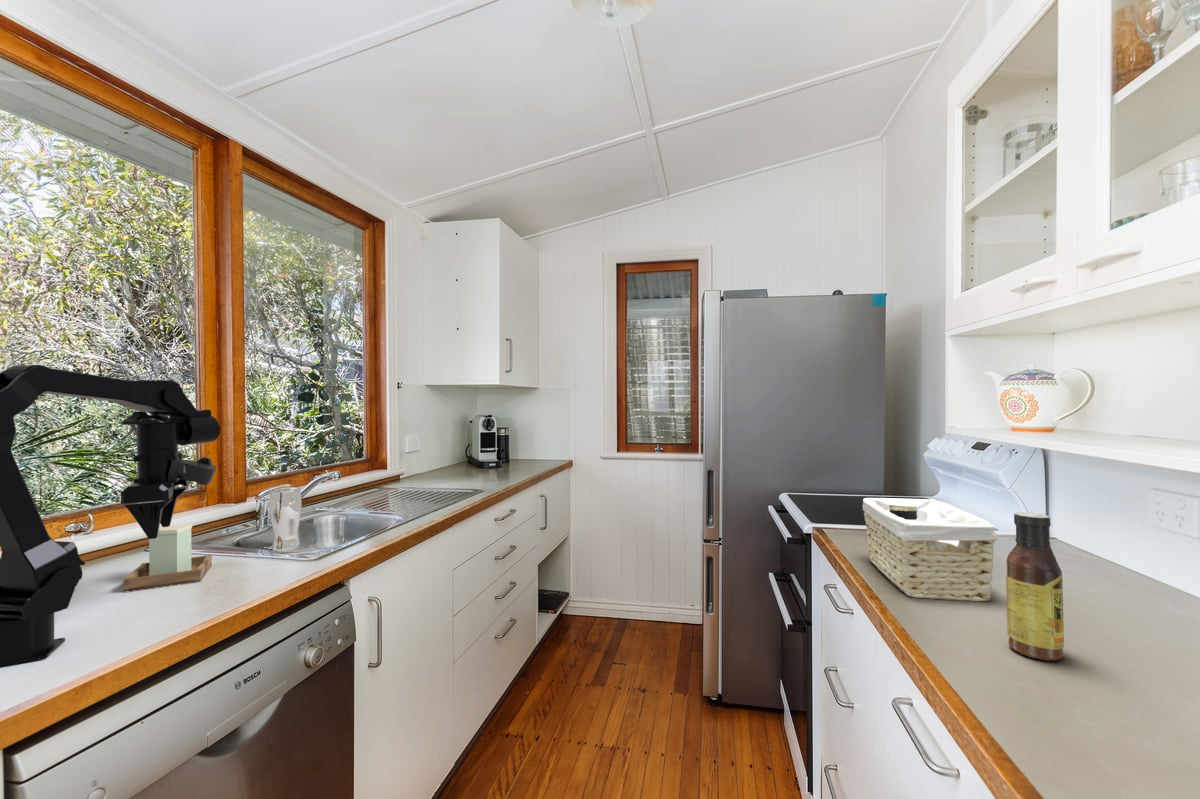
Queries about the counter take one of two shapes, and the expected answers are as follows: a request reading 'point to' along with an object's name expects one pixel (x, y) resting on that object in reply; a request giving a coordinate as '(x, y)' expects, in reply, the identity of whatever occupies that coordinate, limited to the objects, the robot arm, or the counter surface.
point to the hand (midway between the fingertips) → (159, 532)
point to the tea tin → (170, 550)
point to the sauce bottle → (1034, 591)
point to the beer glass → (285, 517)
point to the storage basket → (931, 548)
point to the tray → (167, 575)
